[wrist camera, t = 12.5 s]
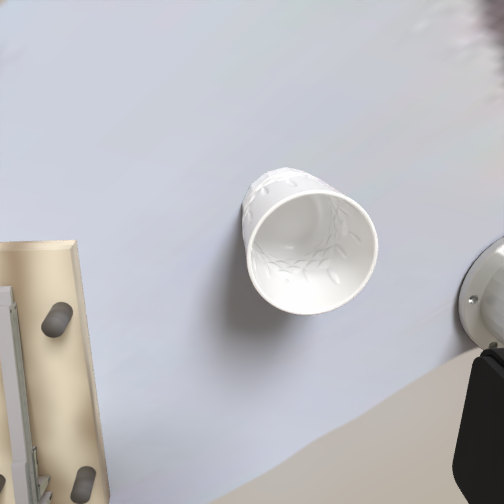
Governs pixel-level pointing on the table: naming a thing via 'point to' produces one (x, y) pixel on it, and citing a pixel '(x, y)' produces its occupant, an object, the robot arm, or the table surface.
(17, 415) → the caliper
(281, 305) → the white cup
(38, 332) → the tool rest
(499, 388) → the robot arm
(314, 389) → the table surface
